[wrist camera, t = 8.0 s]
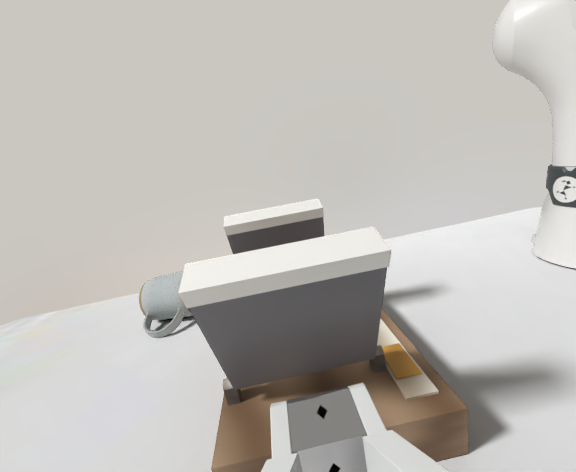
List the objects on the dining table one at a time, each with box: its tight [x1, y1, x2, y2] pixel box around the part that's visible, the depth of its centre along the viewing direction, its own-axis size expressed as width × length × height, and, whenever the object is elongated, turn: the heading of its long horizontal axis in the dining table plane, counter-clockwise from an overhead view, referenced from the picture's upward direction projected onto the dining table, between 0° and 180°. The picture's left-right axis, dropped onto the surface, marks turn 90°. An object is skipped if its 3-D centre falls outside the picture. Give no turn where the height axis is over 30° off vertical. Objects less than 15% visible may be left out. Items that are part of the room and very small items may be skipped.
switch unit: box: [211, 309, 468, 472], centre depth 30 cm, size 17×26×6 cm, turn 6°
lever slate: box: [224, 199, 324, 254], centre depth 33 cm, size 11×2×11 cm, turn 96°
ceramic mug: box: [139, 271, 193, 338], centre depth 44 cm, size 11×8×8 cm
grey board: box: [178, 227, 391, 390], centre depth 18 cm, size 11×2×11 cm, turn 96°
